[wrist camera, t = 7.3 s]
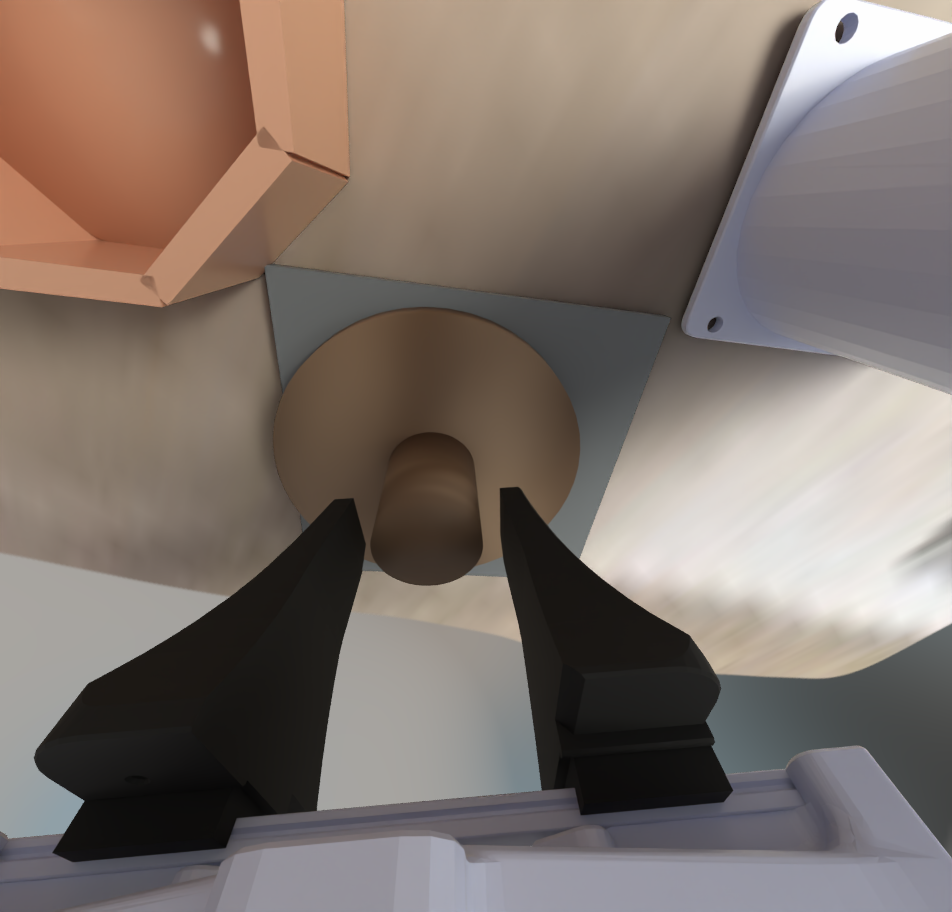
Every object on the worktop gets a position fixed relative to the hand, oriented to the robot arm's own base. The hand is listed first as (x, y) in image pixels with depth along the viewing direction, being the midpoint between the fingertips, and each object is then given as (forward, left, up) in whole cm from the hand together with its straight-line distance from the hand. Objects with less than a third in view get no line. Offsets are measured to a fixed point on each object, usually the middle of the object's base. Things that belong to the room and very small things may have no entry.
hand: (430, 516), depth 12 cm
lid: (0, 0, -3) cm, 3 cm away
